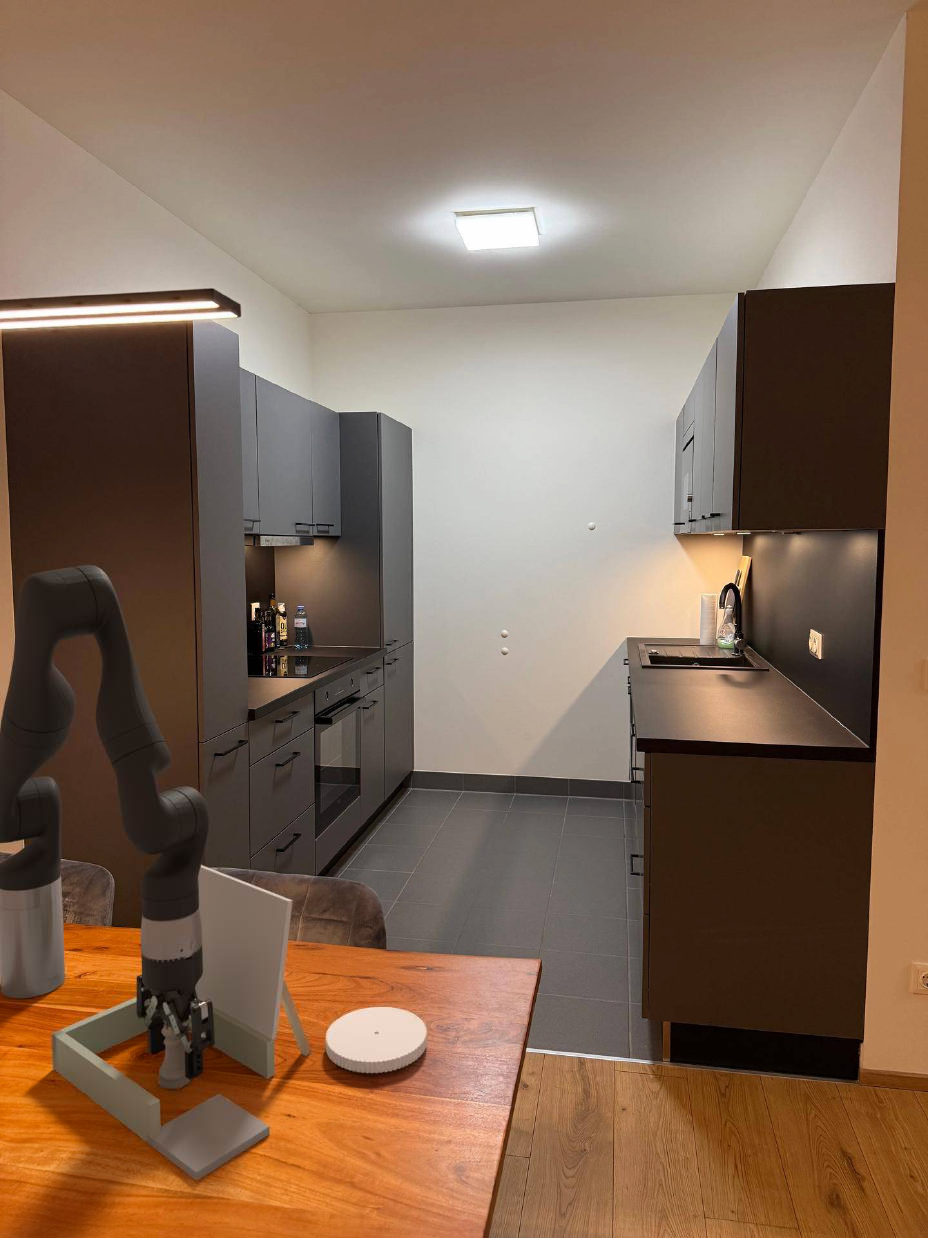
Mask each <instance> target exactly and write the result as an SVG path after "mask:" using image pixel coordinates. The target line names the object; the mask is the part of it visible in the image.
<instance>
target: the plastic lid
mask: <svg viewBox="0 0 928 1238" xmlns="http://www.w3.org/2000/svg"><path fill="white" fill-rule="evenodd" d="M427 1045H428V1029H427V1026H426V1023H424V1021H423V1020H422V1018H421V1017H418V1015H416V1014H414V1013H413V1012H410V1011H409V1010H406V1009H402V1008H399V1007H396V1008H395V1007H390V1006H388V1007H387V1006H384V1007H383V1006H375V1007H374V1006H371V1007H367V1008H365V1007H364V1008H362V1009H361V1008H359V1009H355V1010H354V1011H351V1012H348V1013H347V1014H344V1015H342V1016H340V1017H338V1018H337V1019H335V1020H334V1021H333V1022H332V1023H331V1024H330V1026H329V1027H328V1029H327V1031H326V1033H325V1051H326V1054H327V1056H328V1058H329V1059H330V1061H332V1062H333V1063H334V1064H335V1065H337V1066H338V1067H341V1068H344V1069H345V1070H348V1071H352V1072H353V1073H354V1072H356V1073H362V1074H364V1073H366V1074H369V1073H370V1074H374V1073H375V1074H378V1073H383V1072H384V1073H387V1072H392V1071H397V1069H398V1070H399V1069H401V1068H405V1067H406V1066H409V1064H410V1065H411V1064H412V1063H413V1062H415V1061H416V1060H418V1059H419V1058H420V1057H421V1056H422V1055H423V1053H424V1052H425V1051H426V1048H427Z"/></svg>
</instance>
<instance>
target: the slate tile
mask: <svg viewBox="0 0 928 1238" xmlns="http://www.w3.org/2000/svg"><path fill="white" fill-rule="evenodd" d="M270 1134H271V1133H270V1125H268V1124H266V1123H265V1122H263V1121H262V1120H261V1119H259V1118H258V1117H255V1116H254V1115H253V1114H252V1113H250V1112H248V1111H247V1110H245V1109H243V1108H242V1107H241V1106H239V1105H238V1104H236V1103H235V1102H233V1101H231V1100H230V1099H228V1098H227V1097H225V1096H223V1095H222V1094H220V1093H218V1094H216V1095H214V1096H212V1097H210V1098H208V1099H207V1100H205V1101H203V1102H201V1103H200V1104H198V1105H196V1106H195V1107H193V1108H191V1109H189V1110H188V1111H186V1112H184V1113H181V1114H180V1115H179V1116H176V1117H175V1118H173V1119H171V1120H169V1121H168V1122H166V1123H164V1124H162V1125H161V1133H159V1134H158V1135H156V1136H154V1137H152V1138H150V1137H149V1136H148V1135H147V1137H148V1138H147V1140H148V1142H146V1143H147V1144H149V1143H150V1144H149V1145H150V1146H151V1147H152V1148H154V1149H155V1150H156V1151H157V1152H159V1153H160V1154H161V1155H163V1156H164V1157H165V1158H166V1159H168V1160H169V1161H170V1162H172V1163H173V1164H174V1165H175V1166H177V1167H178V1168H179V1169H181V1170H182V1171H183V1172H184V1173H186V1174H187V1175H188V1176H189V1177H191V1178H192V1179H194V1180H195V1181H196V1182H197V1181H199V1180H201V1179H202V1178H204V1177H205V1176H207V1175H209V1174H210V1173H212V1172H213V1171H215V1170H216V1169H218V1168H219V1167H221V1166H222V1165H224V1164H225V1163H227V1162H229V1161H230V1160H232V1159H233V1158H235V1157H236V1156H238V1155H240V1154H241V1153H243V1152H244V1151H246V1150H247V1149H249V1148H251V1147H253V1146H254V1145H255V1144H257V1143H259V1142H260V1141H262V1140H263V1139H264V1138H266V1137H267V1136H269V1135H270ZM149 1140H150V1142H149Z"/></svg>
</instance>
